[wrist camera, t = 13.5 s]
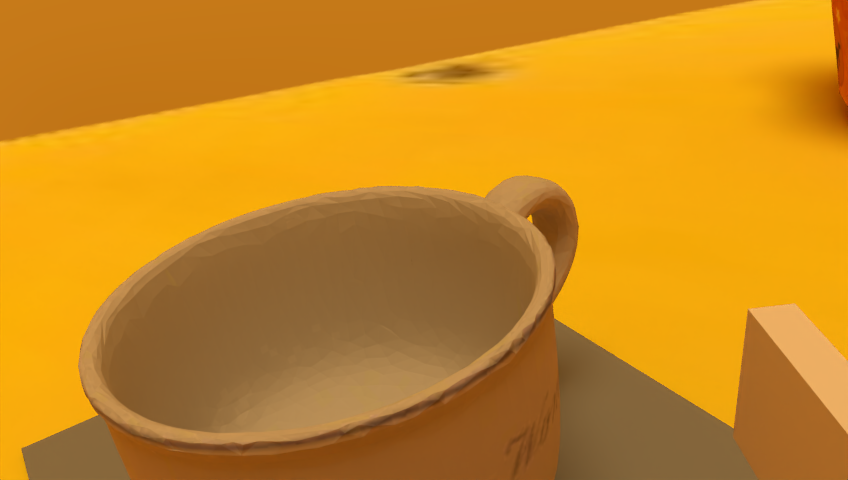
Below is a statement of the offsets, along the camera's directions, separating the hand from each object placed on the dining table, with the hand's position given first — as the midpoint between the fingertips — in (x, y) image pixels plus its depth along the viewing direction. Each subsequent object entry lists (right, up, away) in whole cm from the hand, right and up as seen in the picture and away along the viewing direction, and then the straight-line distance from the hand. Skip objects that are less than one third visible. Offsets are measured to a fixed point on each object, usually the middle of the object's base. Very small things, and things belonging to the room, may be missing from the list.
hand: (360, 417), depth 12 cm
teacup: (+1, -4, +9) cm, 10 cm away
